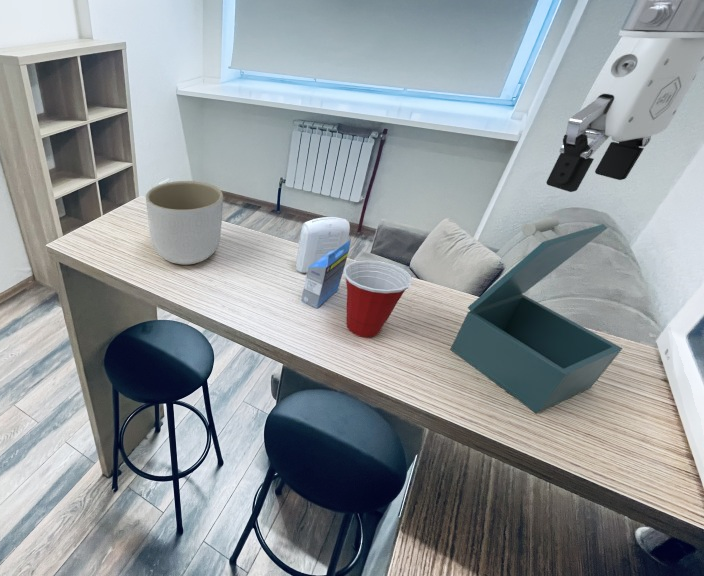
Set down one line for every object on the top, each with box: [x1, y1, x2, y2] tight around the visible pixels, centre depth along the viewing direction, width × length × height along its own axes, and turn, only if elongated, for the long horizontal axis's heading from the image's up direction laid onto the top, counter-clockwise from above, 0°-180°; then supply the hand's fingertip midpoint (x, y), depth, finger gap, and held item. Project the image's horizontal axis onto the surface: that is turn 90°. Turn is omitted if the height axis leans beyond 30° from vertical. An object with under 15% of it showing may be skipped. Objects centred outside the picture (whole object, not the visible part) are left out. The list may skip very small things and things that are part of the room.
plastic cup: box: [343, 259, 413, 339], centre depth 72 cm, size 11×11×12 cm
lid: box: [467, 216, 609, 312], centre depth 62 cm, size 15×13×5 cm
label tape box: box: [301, 238, 352, 309], centre depth 80 cm, size 9×4×12 cm, turn 136°
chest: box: [450, 293, 623, 414], centre depth 64 cm, size 15×13×8 cm
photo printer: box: [295, 216, 351, 274], centre depth 88 cm, size 10×4×12 cm, turn 98°
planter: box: [145, 180, 224, 266], centre depth 94 cm, size 17×17×15 cm
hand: (585, 182), depth 51 cm, fingers open, 9 cm apart
